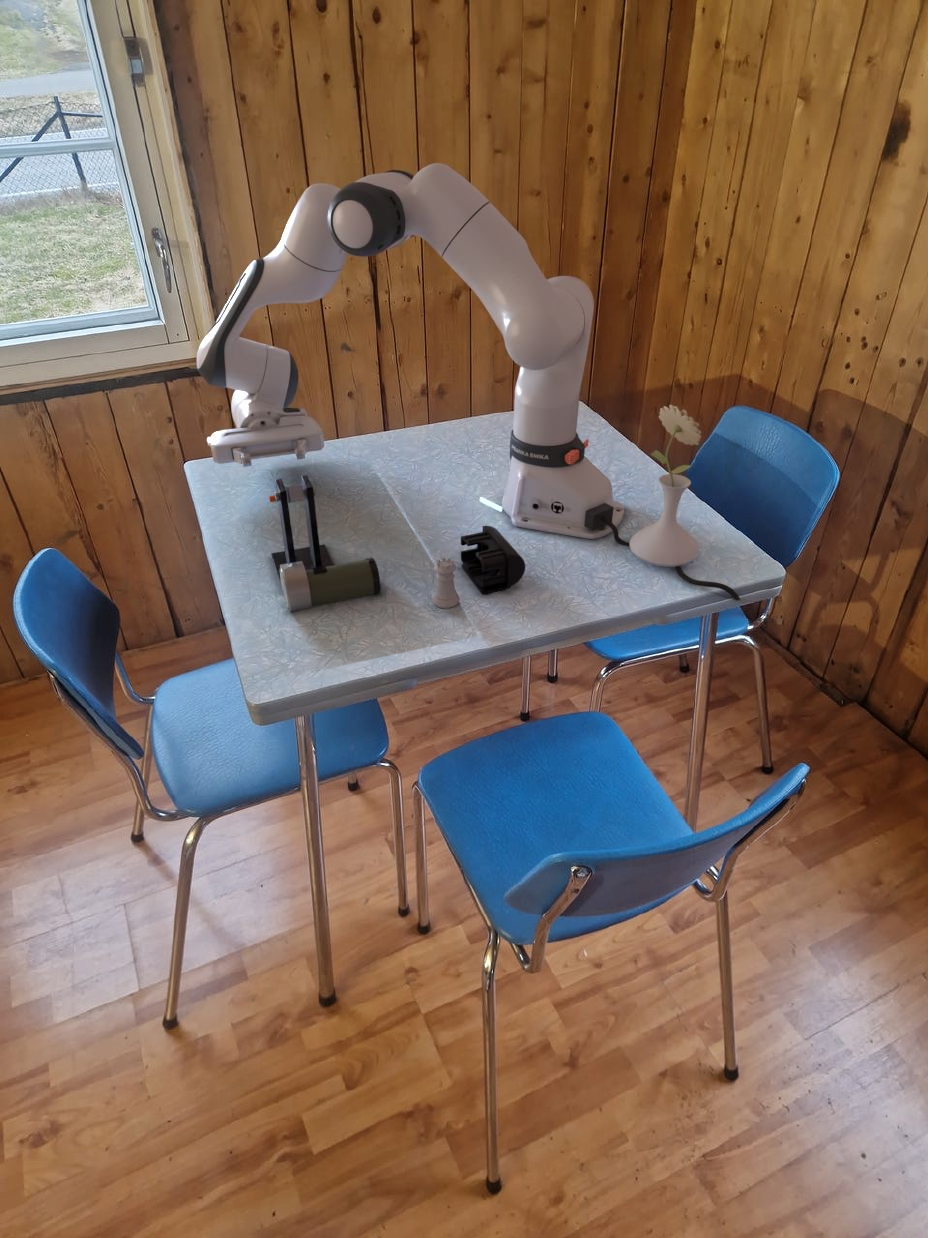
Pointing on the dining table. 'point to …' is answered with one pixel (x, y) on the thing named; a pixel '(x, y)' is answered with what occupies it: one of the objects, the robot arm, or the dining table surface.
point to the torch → (328, 583)
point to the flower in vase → (670, 502)
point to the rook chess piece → (445, 584)
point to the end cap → (491, 561)
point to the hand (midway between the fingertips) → (274, 459)
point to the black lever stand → (314, 553)
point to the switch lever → (292, 494)
